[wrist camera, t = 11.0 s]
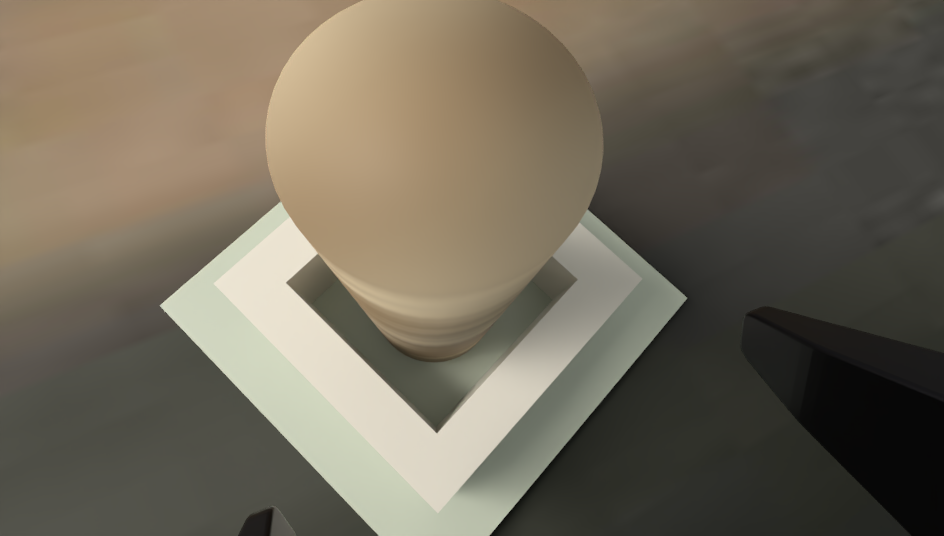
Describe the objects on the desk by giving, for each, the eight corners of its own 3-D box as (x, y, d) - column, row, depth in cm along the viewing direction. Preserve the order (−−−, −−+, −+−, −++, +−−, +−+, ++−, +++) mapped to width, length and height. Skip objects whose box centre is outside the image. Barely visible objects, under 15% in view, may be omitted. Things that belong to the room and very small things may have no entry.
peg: (516, 301, 20) (668, 130, 7) (435, 387, 19) (442, 371, 6) (433, 224, 20) (435, -66, 7) (350, 304, 19) (190, 125, 6)
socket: (680, 300, 21) (739, 277, 17) (437, 590, 17) (439, 647, 14) (432, 80, 22) (432, 11, 18) (168, 308, 19) (99, 284, 15)
